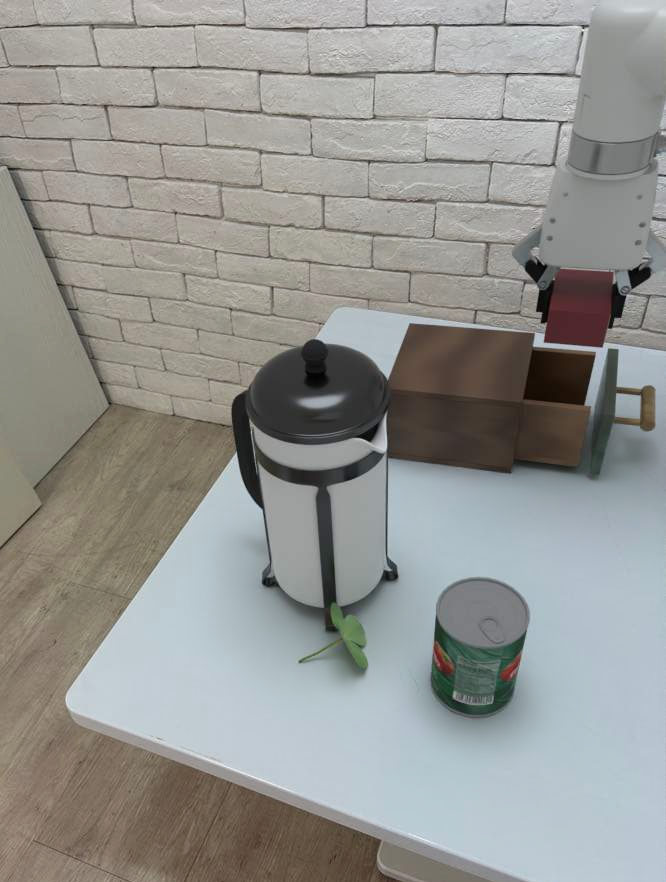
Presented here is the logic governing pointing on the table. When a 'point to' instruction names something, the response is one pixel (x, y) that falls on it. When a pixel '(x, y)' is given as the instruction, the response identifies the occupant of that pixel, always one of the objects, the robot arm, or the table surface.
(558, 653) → the table surface
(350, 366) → the coffee press
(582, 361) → the drawer
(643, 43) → the robot arm
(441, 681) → the canned tomato
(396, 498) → the table surface
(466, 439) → the cabinet
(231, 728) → the table surface
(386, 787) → the table surface
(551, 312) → the maroon rectangular block
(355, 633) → the seedling
